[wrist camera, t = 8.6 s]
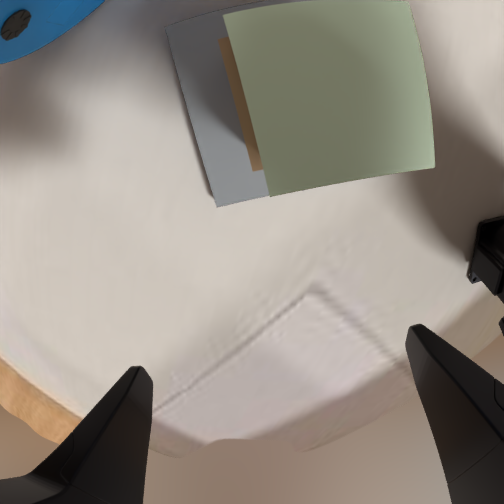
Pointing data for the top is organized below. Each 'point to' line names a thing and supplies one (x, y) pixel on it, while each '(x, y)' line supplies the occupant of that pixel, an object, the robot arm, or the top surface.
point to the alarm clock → (37, 23)
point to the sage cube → (333, 90)
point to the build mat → (215, 104)
